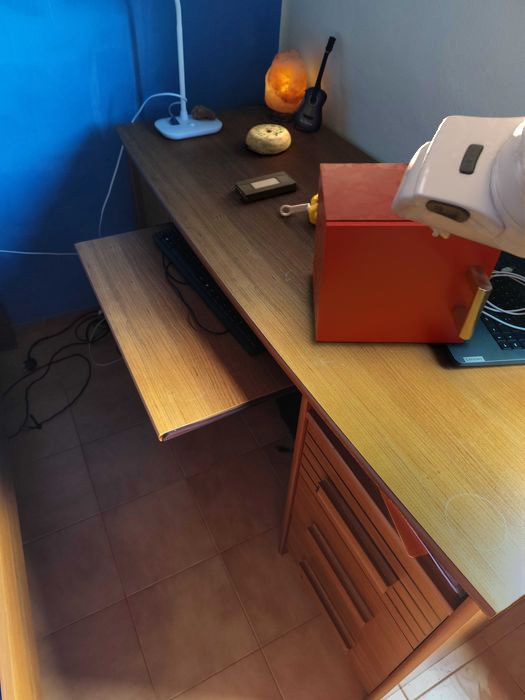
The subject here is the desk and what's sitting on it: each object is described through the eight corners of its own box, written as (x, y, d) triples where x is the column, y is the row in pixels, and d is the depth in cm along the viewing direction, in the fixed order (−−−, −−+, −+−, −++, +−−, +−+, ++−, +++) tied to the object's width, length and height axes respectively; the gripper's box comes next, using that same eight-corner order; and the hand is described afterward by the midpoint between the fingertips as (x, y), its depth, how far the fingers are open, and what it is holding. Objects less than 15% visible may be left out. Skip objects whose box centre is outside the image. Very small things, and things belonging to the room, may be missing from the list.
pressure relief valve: (329, 207, 115) (332, 229, 108) (281, 215, 117) (282, 237, 110) (327, 186, 111) (330, 208, 104) (278, 195, 113) (278, 217, 106)
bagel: (294, 154, 137) (294, 137, 134) (249, 158, 136) (248, 140, 132) (286, 136, 146) (286, 119, 143) (244, 139, 145) (243, 122, 142)
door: (472, 368, 78) (527, 250, 61) (317, 366, 79) (328, 249, 62) (461, 339, 83) (509, 221, 66) (315, 337, 84) (325, 221, 67)
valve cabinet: (461, 338, 83) (509, 219, 66) (315, 337, 84) (325, 219, 67) (438, 277, 96) (474, 162, 78) (312, 276, 97) (320, 163, 79)
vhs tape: (235, 189, 123) (234, 182, 122) (283, 178, 127) (283, 170, 126) (246, 202, 118) (246, 195, 117) (296, 189, 122) (296, 182, 121)
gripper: (733, 195, 30) (611, 251, 44) (425, 108, 34) (402, 185, 47) (695, 285, 30) (586, 313, 44) (392, 189, 34) (378, 242, 47)
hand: (488, 246), depth 46 cm, fingers open, 8 cm apart
